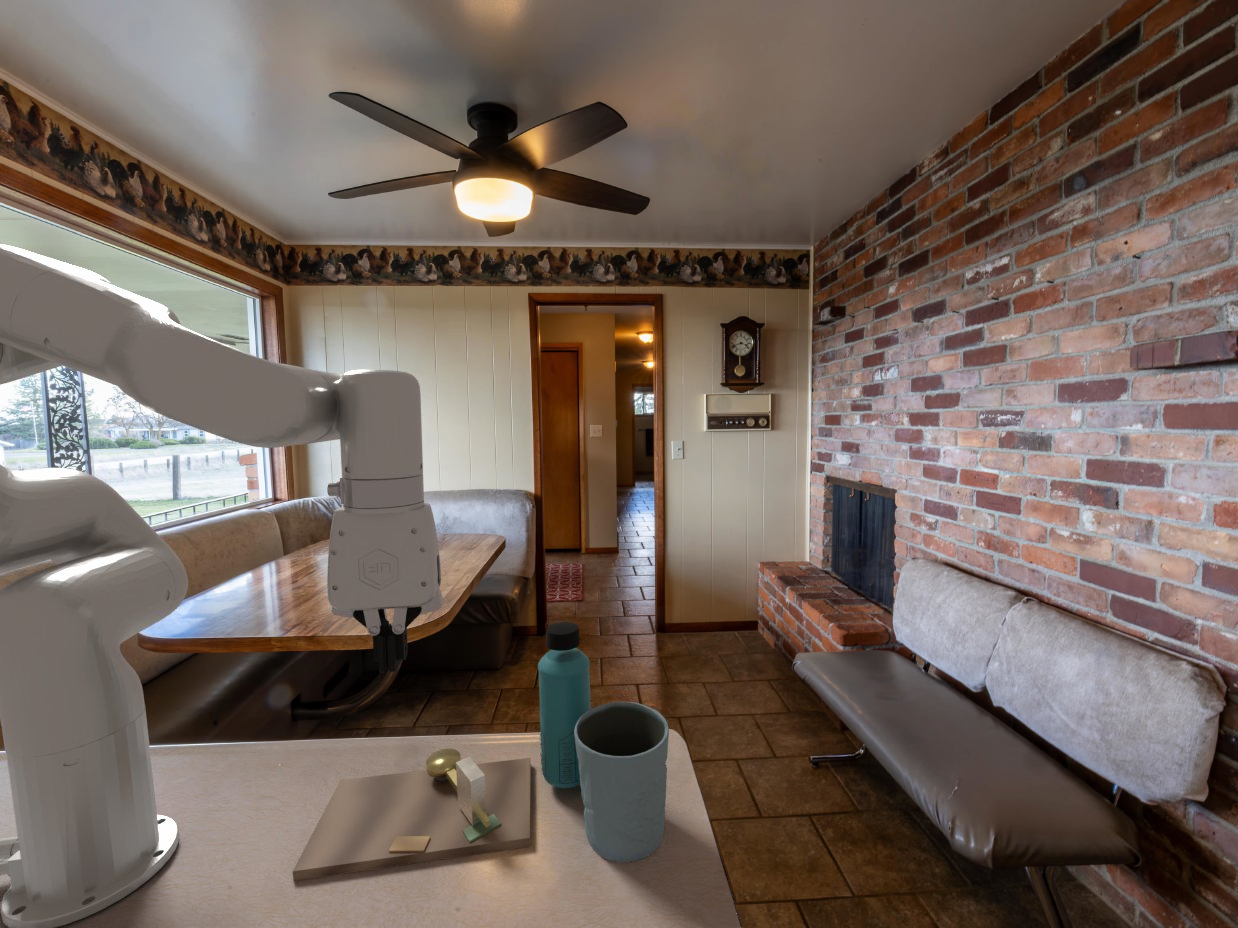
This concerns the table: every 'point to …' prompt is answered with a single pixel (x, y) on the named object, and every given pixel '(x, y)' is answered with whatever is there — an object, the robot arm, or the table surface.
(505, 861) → the table surface
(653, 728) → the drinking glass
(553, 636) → the beverage bottle
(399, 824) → the cutting board
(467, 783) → the gold and silver piece
